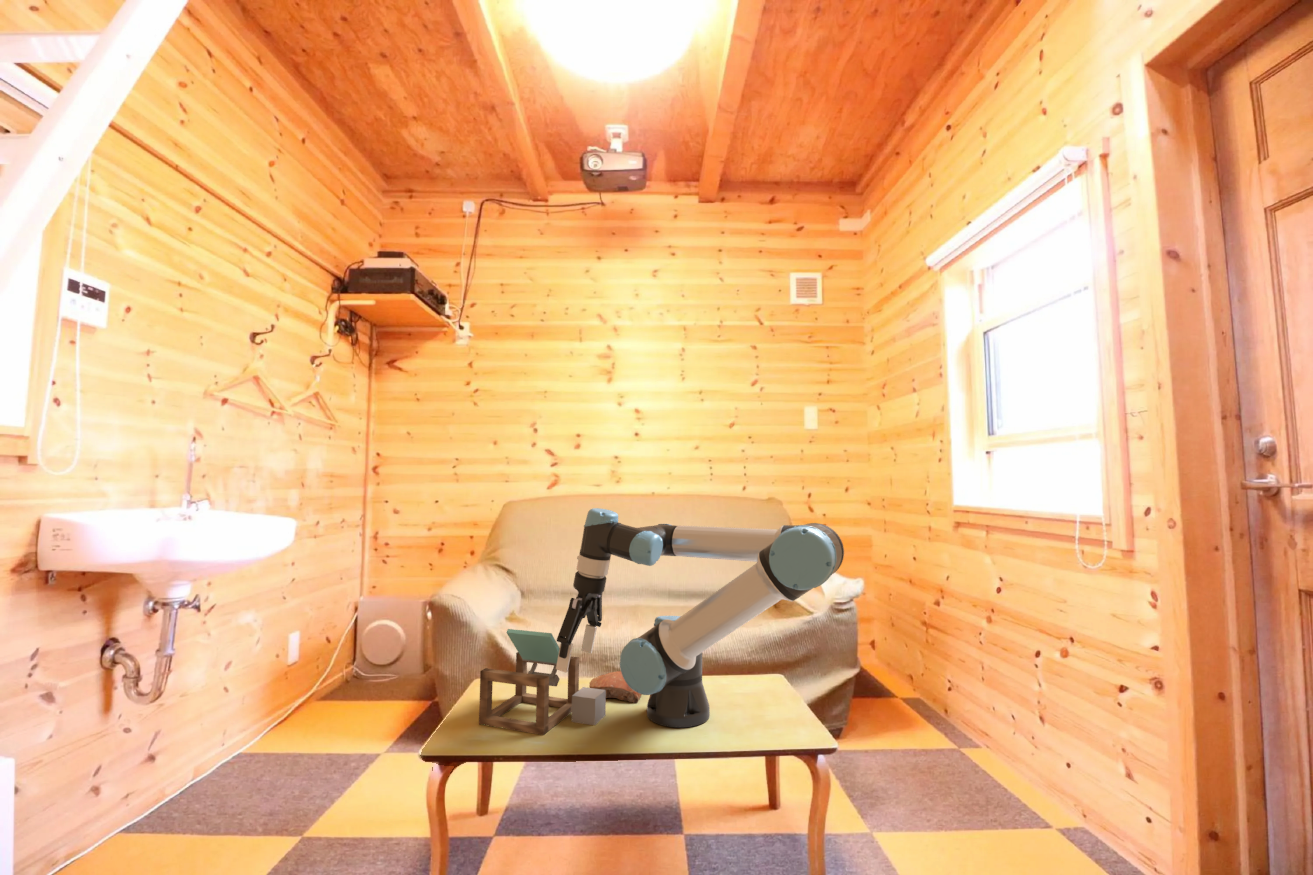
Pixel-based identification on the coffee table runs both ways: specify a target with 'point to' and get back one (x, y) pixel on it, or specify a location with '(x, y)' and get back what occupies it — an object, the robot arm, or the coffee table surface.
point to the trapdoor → (537, 650)
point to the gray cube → (588, 705)
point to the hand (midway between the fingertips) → (574, 660)
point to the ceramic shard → (615, 687)
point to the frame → (526, 697)
